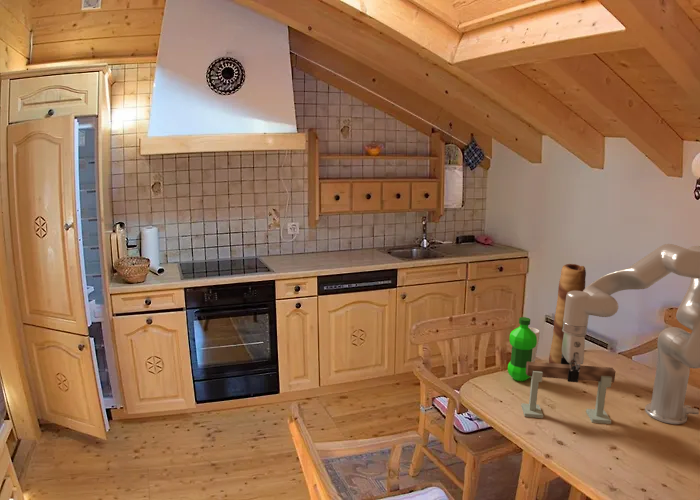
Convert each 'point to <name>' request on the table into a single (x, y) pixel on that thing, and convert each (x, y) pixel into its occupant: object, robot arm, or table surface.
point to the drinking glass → (536, 344)
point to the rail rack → (594, 414)
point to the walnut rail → (562, 371)
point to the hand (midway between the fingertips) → (568, 375)
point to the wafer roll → (569, 281)
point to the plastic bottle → (521, 349)
